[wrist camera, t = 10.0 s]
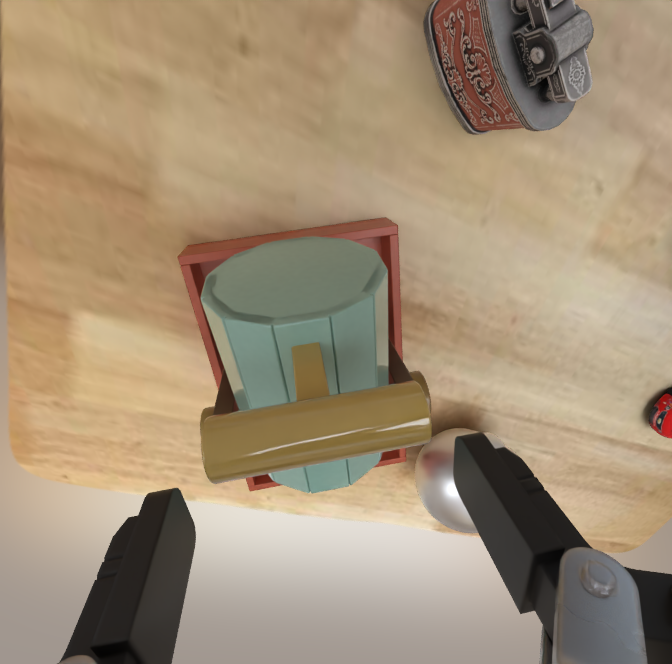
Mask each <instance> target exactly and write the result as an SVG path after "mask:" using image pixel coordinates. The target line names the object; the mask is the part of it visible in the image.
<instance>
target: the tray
mask: <svg viewBox="0 0 672 664" xmlns="http://www.w3.org/2000/svg"><path fill="white" fill-rule="evenodd" d="M307 236H308V237H310V236H314V237H328V238H343V239H346V240H347V239H349V240H351V241H354V242H357V243H359V244H362V245H364V246H367V247H369V248H372V249H374V250H375V251H377V253H378V254H379V256H380V258H381V259H382V261H383V263H384V264H385V266H386V268H387V269H388V337H389V339H390V341H391V342H392V344H393V346H394V347H395V349H396V351H397V353H398V354H399V356H400V358H401V359H402V361H403V357H402V329H401V300H400V272H399V243H398V225H397V224H395V223H394V222H392V221H391V220H389V219H388V218H378V219H371V220H364V221H357V222H350V223H343V224H336V225H329V226H322V227H315V228H308V229H301V230H294V231H287V232H280V233H273V234H266V235H259V236H252V237H245V238H237V239H230V240H223V241H216V242H209V243H202V244H195V245H188V246H187V247H186V248H185V249H184V250H183V251H182V253H181V254H180V255H179V256H178V260H179V263H180V265H181V270H182V273H183V276H184V280H185V283H186V286H187V289H188V293H189V296H190V299H191V302H192V306H193V309H194V312H195V315H196V319H197V322H198V325H199V328H200V331H201V335H202V338H203V341H204V344H205V348H206V351H207V354H208V357H209V361H210V364H211V367H212V370H213V374H214V377H215V380H216V383H217V387H218V390H219V387H220V382H221V378H222V374H223V370H224V365H223V362H222V359H221V357H220V354H219V351H218V348H217V345H216V342H215V339H214V336H213V334H212V331H211V328H210V325H209V322H208V319H207V316H206V313H205V311H204V308H203V305H202V302H201V299H200V298H201V294H202V290H203V286H204V282H205V279H206V276H208V274H209V273H210V272H211V271H213V270H214V269H215V268H217V267H218V266H219V265H221V264H222V263H223V262H224V261H226V260H227V259H228V258H230V257H231V256H234V254H237V253H240V252H243V251H245V250H248V249H251V248H254V247H256V246H259V245H262V244H264V243H267V242H269V243H270V242H272V241H279V240H286V239H293V238H300V237H307ZM405 461H406V448H402V449H396V450H391V451H386V452H383V453H382V456H381V459H380V461H378V462H379V463H378V464H377V465H376V466H374V467H379V466H384V465H390V464H395V463H400V462H405ZM374 467H373V468H374ZM246 481H247V484H248V487H249V490H250V491H254V490H260V489H265V488H270V487H275V486H280V485H281V484H278V483H276V482H275V481H273V480H272V479H271V477H270V476H269V475H268V474H265V475H259V476H254V477H249V478H246Z"/></svg>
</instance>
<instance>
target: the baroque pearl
mask: <svg viewBox="0 0 672 664" xmlns="http://www.w3.org/2000/svg"><path fill="white" fill-rule="evenodd" d="M473 433H478V431H474V430H470V429H466V428H454V429H448V430H445V431H442V432H440V433H438V434H436V435H435V436H433V437H432V438H431V441H430V442H429V443H427V444H425V445H424V446H423V448H422V449H421V451H420V453H419V455H418V458H417V461H416V465H415V484H416V488H417V492H418V495H419V497H420V499H421V501H422V503H423V505H424V506H425V508H426V509H427V510H428V512H429V513H430V514H431V515H432V516H433V517H434V518H435V519H436V520H438V521H439V522H440V523H442V524H443V525H445V526H447V527H449V528H451V529H453V530H456V531H460V532H464V533H478V531H477V529H476V527H475V525H474V523H473V521H472V519H471V517H470V516H469V514H468V512H467V510H466V508H465V506H464V504H463V502H462V500H461V498H460V496H459V494H458V492H457V489H456V486H455V482H454V477H453V464H454V445H455V438H456V437H457V436H462V435H467V434H473ZM482 433H484V434H485V435H486V436H487V438H488V439H489V441H490V442H491V443H492V445H493V446H494V448H495V449H496V448H501V447H505V445H504V443H503V441H502V440H501V439H500V438H498V437H497V436H496V435H494V434H492V433H488V432H482ZM506 448H507V449H508V450H510V451H511V452H513V453H514V454H516V453H515V451H513V450H512V449H511V448H509V447H506ZM516 455H517V454H516ZM517 456H518V455H517Z"/></svg>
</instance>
